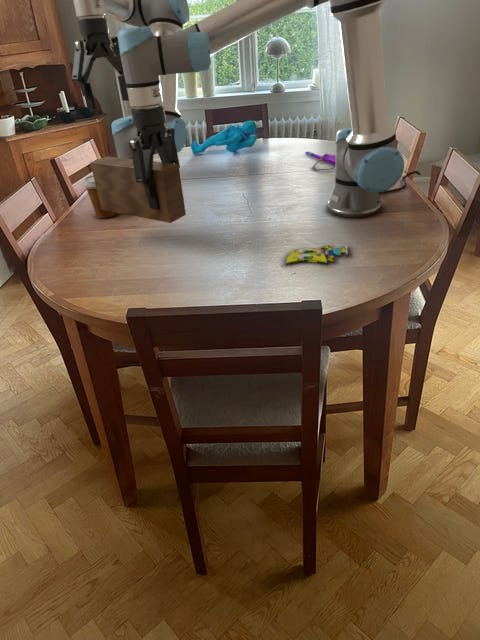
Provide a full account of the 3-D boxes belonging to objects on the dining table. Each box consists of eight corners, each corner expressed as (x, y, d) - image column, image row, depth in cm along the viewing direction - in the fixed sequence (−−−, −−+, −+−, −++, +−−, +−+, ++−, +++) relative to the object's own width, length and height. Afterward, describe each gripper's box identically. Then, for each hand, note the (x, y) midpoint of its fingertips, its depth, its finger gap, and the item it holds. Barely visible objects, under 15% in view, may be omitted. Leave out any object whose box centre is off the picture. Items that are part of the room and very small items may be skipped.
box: (101, 209, 133) (89, 162, 126) (117, 202, 137) (107, 156, 130) (170, 223, 120) (161, 171, 113) (186, 214, 124) (178, 164, 117)
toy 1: (195, 134, 218) (257, 114, 208) (203, 157, 223) (264, 139, 213) (184, 143, 204) (250, 123, 194) (193, 168, 209) (257, 149, 199)
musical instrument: (342, 175, 173) (362, 153, 185) (341, 169, 172) (361, 148, 184) (283, 174, 186) (305, 153, 198) (282, 169, 184) (305, 148, 196)
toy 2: (349, 261, 112) (285, 261, 114) (349, 264, 113) (285, 265, 115) (347, 243, 120) (287, 244, 123) (346, 246, 121) (287, 247, 123)
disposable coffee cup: (85, 218, 153) (75, 181, 146) (103, 208, 160) (94, 172, 154) (110, 221, 150) (101, 182, 143) (127, 210, 157) (119, 173, 150)
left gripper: (62, 19, 117) (84, 113, 128) (135, 14, 133) (148, 97, 145) (43, 21, 120) (66, 112, 132) (116, 16, 137) (131, 97, 149)
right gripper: (128, 115, 101) (148, 219, 114) (186, 98, 114) (198, 193, 127) (104, 114, 105) (126, 214, 118) (162, 98, 118) (176, 190, 130)
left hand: (109, 104), depth 138 cm, fingers open, 13 cm apart
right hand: (163, 203), depth 122 cm, fingers closed on box, 6 cm apart
